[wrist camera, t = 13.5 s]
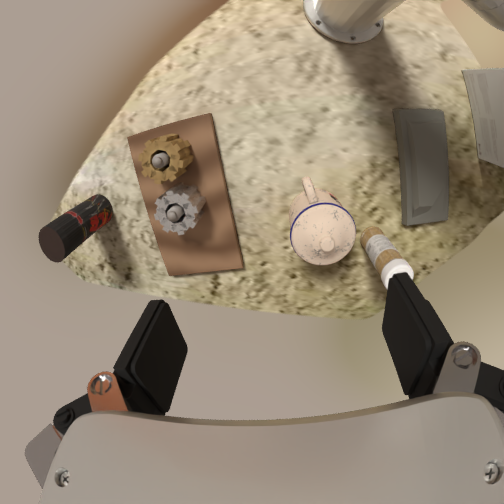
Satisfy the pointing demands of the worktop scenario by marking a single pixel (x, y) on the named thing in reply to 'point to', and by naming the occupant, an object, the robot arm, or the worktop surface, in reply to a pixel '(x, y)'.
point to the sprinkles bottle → (383, 254)
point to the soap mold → (422, 165)
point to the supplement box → (487, 111)
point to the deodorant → (74, 227)
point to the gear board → (189, 172)
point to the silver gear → (186, 199)
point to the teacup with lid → (320, 226)
